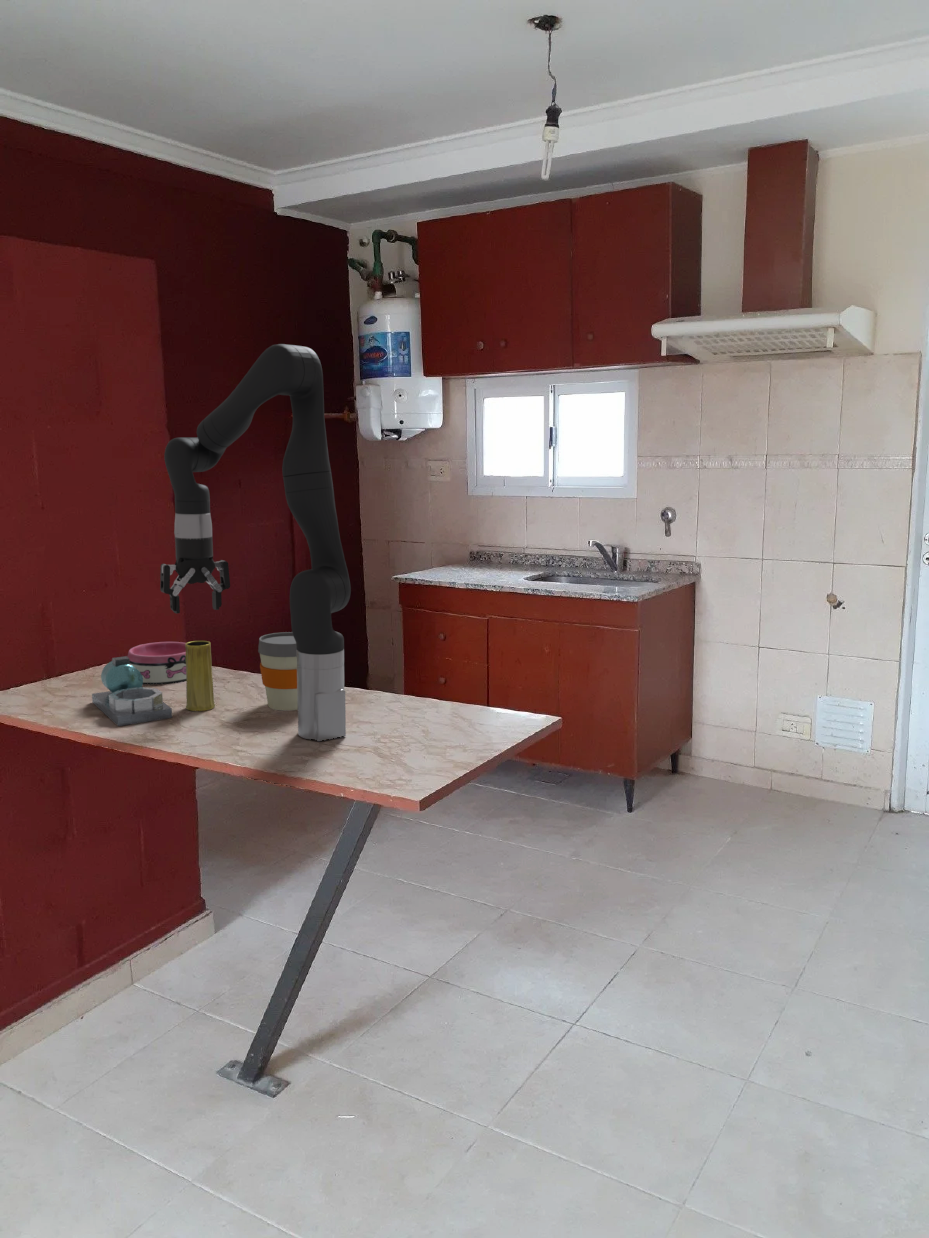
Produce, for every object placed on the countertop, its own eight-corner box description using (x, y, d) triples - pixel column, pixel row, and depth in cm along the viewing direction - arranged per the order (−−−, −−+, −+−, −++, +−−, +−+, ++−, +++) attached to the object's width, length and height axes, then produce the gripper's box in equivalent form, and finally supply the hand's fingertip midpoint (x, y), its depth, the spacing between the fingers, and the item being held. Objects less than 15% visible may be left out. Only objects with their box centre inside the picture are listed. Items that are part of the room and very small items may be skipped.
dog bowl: (143, 689, 222) (141, 661, 220) (110, 674, 235) (108, 646, 234) (216, 676, 234) (215, 649, 233) (180, 662, 247) (179, 636, 246)
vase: (221, 705, 209) (218, 641, 206) (202, 713, 204) (199, 647, 201) (198, 702, 212) (196, 638, 209) (179, 709, 206) (176, 644, 203)
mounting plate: (172, 717, 200) (169, 670, 198) (118, 726, 194) (115, 677, 192) (143, 695, 216) (140, 651, 214) (92, 702, 210) (89, 657, 208)
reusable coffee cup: (323, 698, 216) (322, 632, 213) (309, 714, 204) (308, 645, 201) (269, 695, 217) (267, 630, 214) (251, 711, 205) (249, 643, 202)
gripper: (165, 538, 193) (168, 617, 196) (233, 535, 201) (235, 611, 204) (153, 534, 199) (157, 611, 202) (220, 531, 207) (222, 605, 210)
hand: (196, 611), depth 203 cm, fingers open, 8 cm apart
